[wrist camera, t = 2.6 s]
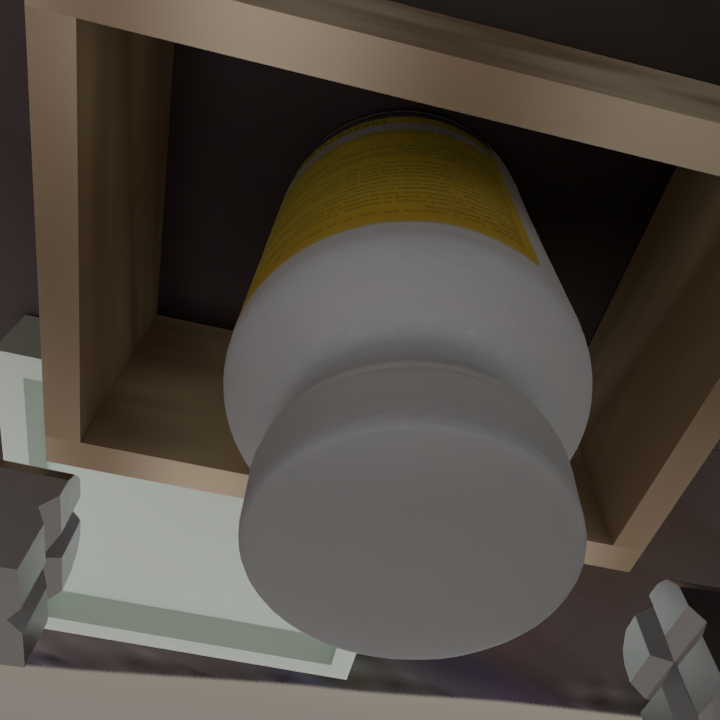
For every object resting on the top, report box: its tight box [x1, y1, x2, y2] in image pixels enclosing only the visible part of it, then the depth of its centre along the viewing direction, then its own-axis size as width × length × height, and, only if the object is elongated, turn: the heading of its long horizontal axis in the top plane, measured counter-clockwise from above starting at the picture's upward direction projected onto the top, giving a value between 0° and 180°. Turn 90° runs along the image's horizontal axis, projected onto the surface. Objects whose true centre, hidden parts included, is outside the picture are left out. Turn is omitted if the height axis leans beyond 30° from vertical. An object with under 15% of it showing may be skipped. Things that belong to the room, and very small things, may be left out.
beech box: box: [24, 0, 720, 572], centre depth 16 cm, size 15×11×6 cm
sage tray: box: [0, 315, 356, 680], centre depth 24 cm, size 13×13×2 cm
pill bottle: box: [223, 111, 593, 660], centre depth 14 cm, size 6×6×12 cm
